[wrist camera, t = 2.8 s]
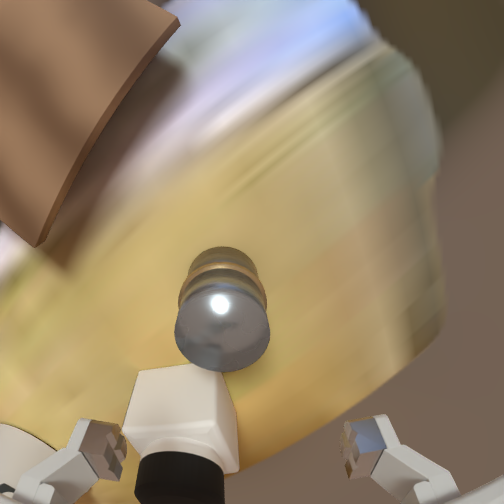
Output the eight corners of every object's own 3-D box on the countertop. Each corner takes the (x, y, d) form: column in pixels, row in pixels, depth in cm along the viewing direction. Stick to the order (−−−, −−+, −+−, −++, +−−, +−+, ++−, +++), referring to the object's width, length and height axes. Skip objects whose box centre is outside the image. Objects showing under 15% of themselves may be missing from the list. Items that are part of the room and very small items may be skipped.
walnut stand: (61, 229, 21) (34, 248, 17) (-53, 132, 17) (-83, 136, 13) (185, 37, 17) (177, 16, 13) (39, -33, 13) (16, -50, 9)
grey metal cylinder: (231, 324, 24) (233, 387, 18) (170, 287, 23) (152, 344, 16) (276, 272, 23) (294, 325, 17) (213, 228, 22) (208, 269, 15)
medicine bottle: (137, 369, 25) (104, 485, 14) (217, 357, 25) (215, 484, 14) (166, 421, 28) (152, 526, 17) (237, 412, 28) (244, 523, 17)
